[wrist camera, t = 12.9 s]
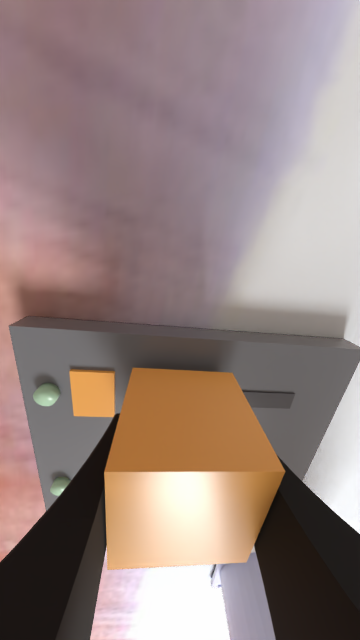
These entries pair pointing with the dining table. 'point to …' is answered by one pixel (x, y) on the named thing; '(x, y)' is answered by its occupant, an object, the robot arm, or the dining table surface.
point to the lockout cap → (186, 472)
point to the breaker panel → (175, 354)
